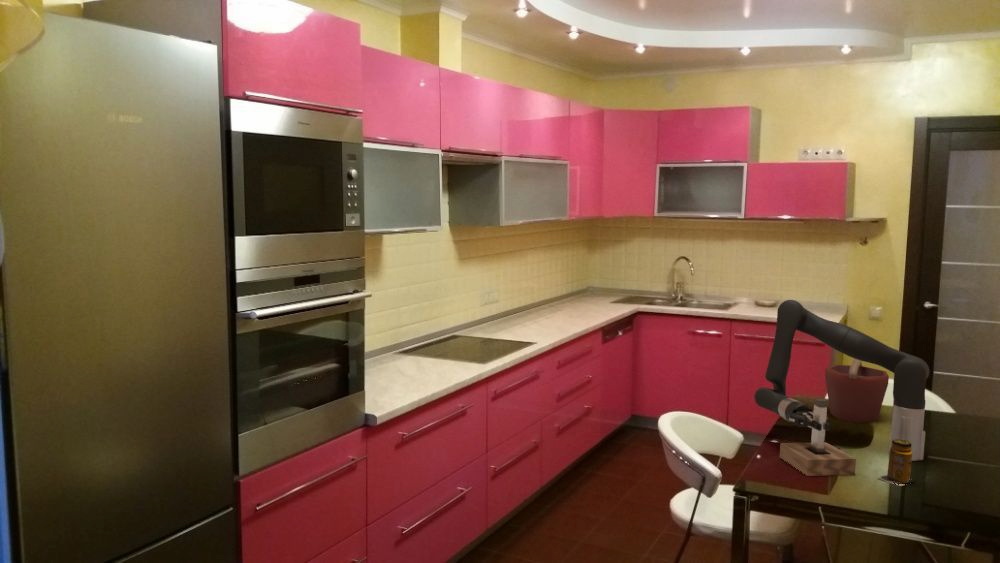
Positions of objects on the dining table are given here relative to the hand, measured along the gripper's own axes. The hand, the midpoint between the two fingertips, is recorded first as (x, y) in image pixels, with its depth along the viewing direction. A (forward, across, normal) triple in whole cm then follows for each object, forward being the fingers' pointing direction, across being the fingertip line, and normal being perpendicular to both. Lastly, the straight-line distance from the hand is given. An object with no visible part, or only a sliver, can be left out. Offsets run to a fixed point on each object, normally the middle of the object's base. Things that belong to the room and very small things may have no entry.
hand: (824, 427), depth 231 cm
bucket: (-56, +49, +14) cm, 76 cm away
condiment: (+10, +18, +14) cm, 25 cm away
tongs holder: (-3, 0, +13) cm, 14 cm away
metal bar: (-3, 0, +10) cm, 10 cm away
